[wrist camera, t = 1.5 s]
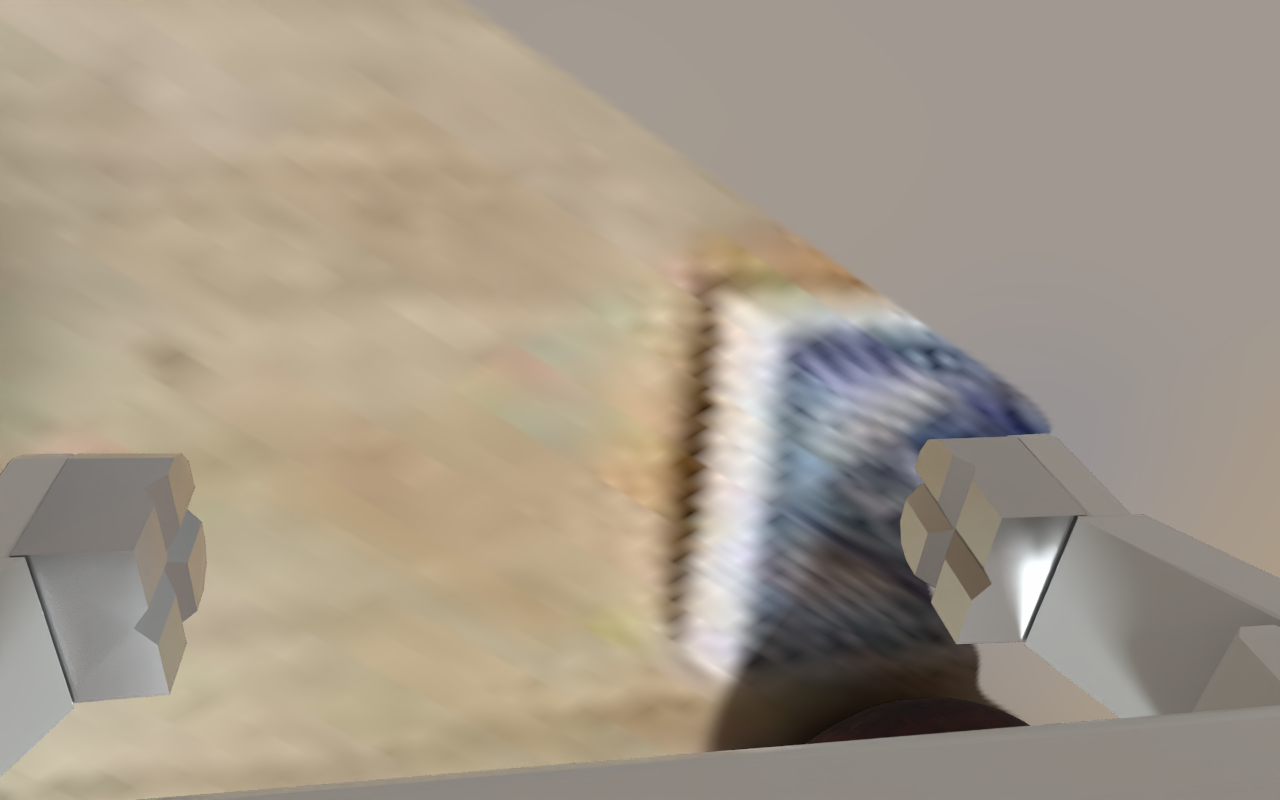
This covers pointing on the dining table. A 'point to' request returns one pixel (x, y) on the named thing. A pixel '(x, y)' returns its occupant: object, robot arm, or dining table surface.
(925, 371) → the dining table surface
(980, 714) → the jug
